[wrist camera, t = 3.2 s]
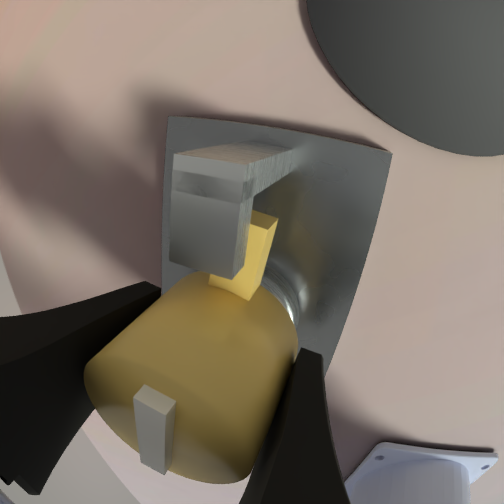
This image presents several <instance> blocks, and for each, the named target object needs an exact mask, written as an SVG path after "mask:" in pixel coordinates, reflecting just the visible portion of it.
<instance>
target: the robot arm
mask: <svg viewBox="0 0 504 504" xmlns="http://www.w3.org/2000/svg"><path fill="white" fill-rule="evenodd" d="M160 297H161V288H159V287H157V286H155V285H153V284H150V283H148V282H146V281H144V282H140V283H137V284H134V285H130V286H127V287H124V288H121V289H118V290H115V291H112V292H109V293H106V294H103V295H100V296H96V297H93V298H90V299H87V300H84V301H80V302H77V303H73V304H69V305H66V306H62V307H58V308H55V309H50V310H46V311H41V312H36V313H31V314H25V315H18V316H9V317H0V478H1V479H2V480H3V481H4V482H5V484H7V485H10V484H11V483H12V482H13V481H15V482H16V483H17V484H18V485H19V486H20V487H22V488H23V489H24V490H25V491H26V492H27V493H28V494H30V495H40V493H41V491H42V489H43V487H44V485H45V483H46V481H47V480H48V478H49V476H50V474H51V472H52V470H53V468H54V467H55V465H56V464H57V462H58V460H59V459H60V457H61V455H62V454H63V452H64V451H65V449H66V447H67V446H68V445H69V443H70V442H71V440H72V439H73V437H74V436H75V434H76V433H77V432H78V430H79V429H80V427H81V426H82V425H83V423H84V422H85V421H86V419H87V418H88V417H89V415H90V414H91V413H92V411H93V410H94V409H95V407H94V405H93V404H92V402H91V400H90V398H89V396H88V393H87V391H86V388H85V384H84V369H85V366H86V364H87V363H88V362H89V361H90V360H91V359H92V358H93V357H94V356H95V355H96V354H98V353H99V352H100V351H101V350H102V349H103V348H104V347H105V346H106V345H107V344H109V343H110V342H111V341H112V340H113V339H114V338H115V337H116V336H117V335H118V334H120V333H121V332H122V331H123V330H124V329H125V328H126V327H127V326H128V325H130V324H131V323H132V322H133V321H134V320H135V319H136V318H137V317H139V316H140V315H141V314H142V313H143V312H144V311H145V310H146V309H148V308H149V307H150V306H151V305H152V304H153V303H154V302H155V301H157V300H158V299H159V298H160ZM323 361H324V359H323V357H322V355H321V354H319V353H316V352H313V351H310V350H308V349H305V348H302V347H301V349H300V351H299V353H298V355H297V358H296V360H295V362H294V364H293V367H292V370H291V373H290V375H289V378H288V381H287V383H286V386H285V389H284V392H283V394H282V397H281V400H280V402H279V405H278V408H277V410H276V413H275V415H274V418H273V420H272V423H271V425H270V428H269V430H268V433H267V435H266V438H265V440H264V442H263V445H262V447H261V450H260V452H259V454H258V457H257V459H256V461H255V464H254V467H253V470H252V473H251V476H250V479H249V482H248V484H247V487H246V489H245V492H244V494H243V496H242V498H241V500H240V502H239V504H471V502H470V484H472V483H473V482H474V481H475V480H477V479H478V478H479V477H480V476H481V475H483V474H484V473H485V472H486V471H487V470H488V469H490V468H491V467H492V466H493V465H494V464H495V463H496V462H497V461H498V454H497V453H484V452H465V451H452V450H441V449H432V448H423V447H416V446H409V445H402V444H395V443H389V442H383V443H379V444H377V445H376V446H375V447H374V449H373V450H372V451H371V452H370V453H369V455H368V456H367V457H366V458H365V459H364V461H363V462H362V463H361V464H360V465H359V466H358V468H357V469H356V470H355V471H354V472H353V473H352V474H351V476H350V477H349V478H348V479H347V480H346V481H345V482H344V481H343V478H342V474H341V471H340V468H339V464H338V460H337V456H336V451H335V447H334V442H333V437H332V433H331V427H330V421H329V415H328V408H327V401H326V393H325V383H324V365H323ZM0 504H14V503H13V502H12V501H11V500H10V499H9V498H8V497H7V496H6V495H5V494H4V493H3V492H2V491H1V490H0Z"/></svg>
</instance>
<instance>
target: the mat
mask: <svg viewBox="0 0 504 504" xmlns="http://www.w3.org/2000/svg"><path fill="white" fill-rule="evenodd" d="M307 8H308V13H309V17H310V21H311V25H312V28H313V31H314V33H315V36H316V38H317V41H318V43H319V45H320V47H321V49H322V51H323V52H324V54H325V56H326V58H327V60H328V62H329V63H330V65H331V66H332V68H333V69H334V70H335V72H336V73H337V75H338V76H339V78H340V79H341V80H342V81H343V82H344V84H345V85H346V86H347V87H348V88H349V89H350V91H351V92H352V93H353V94H354V95H355V96H356V97H357V98H358V99H359V100H360V101H361V102H362V103H363V104H364V105H365V106H366V107H367V108H368V109H370V110H371V111H372V112H374V113H375V114H376V115H377V116H379V117H380V118H381V119H382V120H384V121H385V122H386V123H388V124H390V125H391V126H393V127H394V128H396V129H397V130H399V131H400V132H402V133H404V134H406V135H408V136H410V137H412V138H414V139H416V140H417V141H419V142H422V143H425V144H427V145H430V146H432V147H435V148H437V149H441V150H445V151H449V152H452V153H456V154H462V155H469V156H497V155H503V154H504V0H307Z"/></svg>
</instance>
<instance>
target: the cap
mask: <svg viewBox="0 0 504 504" xmlns="http://www.w3.org/2000/svg"><path fill="white" fill-rule="evenodd" d="M278 219H279V218H276V217H273V216H270V215H267V214H264V213H261V212H258V211H255V210H252V212H251V219H250V227H249V234H248V242H247V249H246V257H245V264H244V266H243V268H242V269H241V270H240V271H239V272H238V273H237V275H236V276H235V277H234V278H233V279H232V280H229V279H226V278H223V277H219V276H216V275H213V274H209V273H206V272H203V271H197V272H194V273H191V274H189V275H187V276H185V277H183V278H182V279H181V280H179V281H178V282H177V283H176V284H175V285H174V286H172V287H171V288H170V289H169V290H168V291H167V292H166V293H165V294H163V295H162V296H161V297H160V298H159V299H158V300H157V301H155V302H154V303H153V304H152V305H151V306H150V307H149V308H148V309H146V310H145V311H144V312H143V313H142V314H141V315H140V316H139V317H137V318H136V319H135V320H134V321H133V322H132V323H131V324H130V325H128V326H127V327H126V328H125V329H124V330H123V331H122V332H121V333H120V334H118V335H117V336H116V337H115V338H114V339H113V340H112V341H111V342H110V343H109V344H107V345H106V346H105V347H104V348H103V349H102V350H101V351H100V352H99V353H98V354H96V355H95V356H94V357H93V358H92V359H91V360H90V361H89V362H88V363H87V364H86V366H85V369H84V384H85V388H86V391H87V393H88V396H89V398H90V400H91V402H92V404H93V405H94V407H95V409H96V410H97V412H98V413H99V415H100V416H101V417H102V419H103V420H104V421H105V422H106V424H107V425H108V426H109V427H110V428H111V429H112V430H113V431H114V432H115V433H116V434H117V435H118V436H119V437H120V438H121V439H122V440H123V441H124V442H125V443H127V444H128V445H129V446H130V447H131V448H133V449H134V450H135V451H137V452H138V453H140V460H141V463H143V464H145V465H146V466H148V467H150V468H152V469H154V470H156V471H157V472H159V473H161V474H163V475H165V474H166V472H167V471H168V470H169V471H171V472H173V473H176V474H178V475H181V476H183V477H186V478H189V479H193V480H196V481H201V482H205V483H213V484H230V483H235V482H238V481H241V480H243V479H245V478H246V477H247V476H248V475H249V474H250V473H251V471H252V468H253V466H254V464H255V461H256V459H257V457H258V454H259V452H260V450H261V447H262V445H263V442H264V440H265V438H266V435H267V433H268V430H269V428H270V425H271V423H272V420H273V418H274V415H275V413H276V410H277V408H278V405H279V402H280V400H281V397H282V394H283V392H284V389H285V386H286V383H287V381H288V378H289V375H290V373H291V370H292V367H293V364H294V362H295V359H296V356H297V351H298V337H297V332H296V329H295V326H294V323H293V321H292V319H291V317H290V315H289V314H288V312H287V311H286V309H285V308H284V306H283V305H282V304H281V303H280V302H279V300H278V299H277V298H276V297H275V296H274V295H273V294H271V293H270V292H269V291H268V290H267V289H265V288H264V287H263V286H261V285H260V283H261V280H262V276H263V273H264V269H265V265H266V262H267V258H268V255H269V251H270V248H271V244H272V240H273V237H274V233H275V230H276V226H277V222H278Z"/></svg>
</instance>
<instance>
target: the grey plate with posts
mask: <svg viewBox="0 0 504 504" xmlns="http://www.w3.org/2000/svg"><path fill="white" fill-rule="evenodd" d="M391 159H392V153H391V152H390V151H386V150H382V149H378V148H375V147H371V146H367V145H362V144H358V143H354V142H350V141H345V140H341V139H336V138H332V137H327V136H322V135H317V134H312V133H307V132H302V131H296V130H290V129H285V128H278V127H272V126H266V125H259V124H252V123H245V122H237V121H228V120H220V119H210V118H199V117H188V116H168V125H167V137H166V150H165V165H164V182H163V205H162V295H163V294H165V293H166V292H167V291H168V290H169V289H170V288H171V287H172V286H174V285H175V284H176V283H177V282H178V281H179V280H181V279H182V278H183V277H185V276H187V275H189V274H191V273H194V272H197V271H203V272H206V273H209V274H213V275H216V276H219V277H223V278H226V279H229V280H232V279H233V278H234V277H235V276H236V275H237V273H238V272H239V271H240V270H241V269H242V268H243V266H244V264H245V257H246V249H247V242H248V234H249V227H250V219H251V212H252V210H255V211H258V212H261V213H264V214H267V215H270V216H273V217H276V218H279V219H278V222H277V226H276V230H275V233H274V237H273V240H272V244H271V248H270V251H269V255H268V258H267V262H266V265H265V269H264V273H263V276H262V280H261V283H260V285H261V286H263V287H264V288H265V289H267V290H268V291H269V292H270V293H271V294H273V295H274V296H275V297H276V298H277V299H278V300H279V302H280V303H281V304H282V305H283V306H284V308H285V309H286V311H287V312H288V314H289V315H290V317H291V319H292V321H293V323H294V326H295V329H296V332H297V337H298V351H297V355H298V353H299V351H300V349H301V347H302V348H305V349H308V350H310V351H313V352H316V353H319V354H321V355H322V357H323V359H324V361H323V365H324V377H325V375H326V372H327V370H328V367H329V365H330V362H331V360H332V357H333V355H334V352H335V349H336V347H337V344H338V341H339V339H340V336H341V333H342V331H343V328H344V325H345V322H346V319H347V316H348V314H349V311H350V308H351V305H352V302H353V299H354V296H355V293H356V290H357V287H358V284H359V281H360V277H361V274H362V271H363V268H364V264H365V261H366V258H367V254H368V251H369V247H370V244H371V240H372V237H373V233H374V230H375V226H376V222H377V218H378V214H379V211H380V207H381V203H382V199H383V194H384V190H385V186H386V182H387V177H388V173H389V168H390V164H391ZM296 358H297V356H296ZM295 360H296V359H295Z"/></svg>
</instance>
